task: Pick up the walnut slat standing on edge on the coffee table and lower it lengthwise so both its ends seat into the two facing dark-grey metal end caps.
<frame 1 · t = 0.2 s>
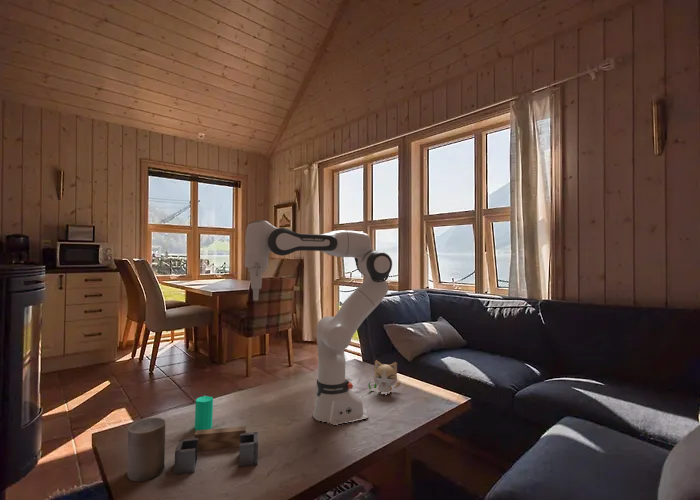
hand: (255, 298, 139), 47 cm above the table, fingers open, 8 cm apart
pillar candle: (145, 472, 106), on the table
candle: (203, 427, 134), on the table
slat: (220, 446, 121), on the table
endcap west: (248, 459, 114), on the table
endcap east: (186, 466, 109), on the table
kitten: (383, 393, 172), on the table
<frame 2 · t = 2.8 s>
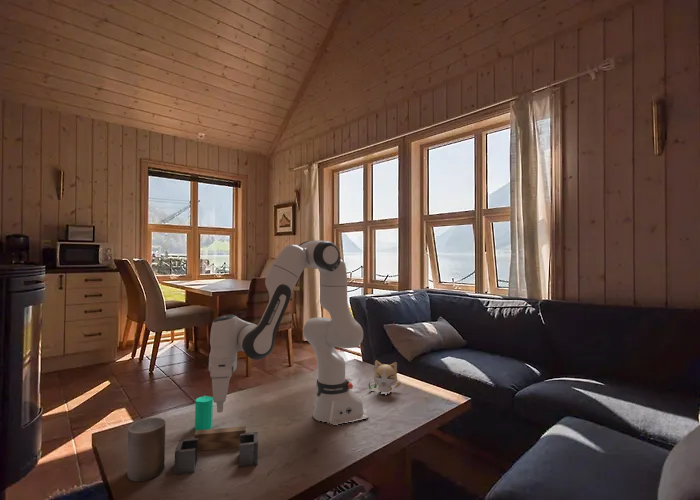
hand: (221, 405, 121), 14 cm above the table, fingers open, 8 cm apart
nothing on the table moved.
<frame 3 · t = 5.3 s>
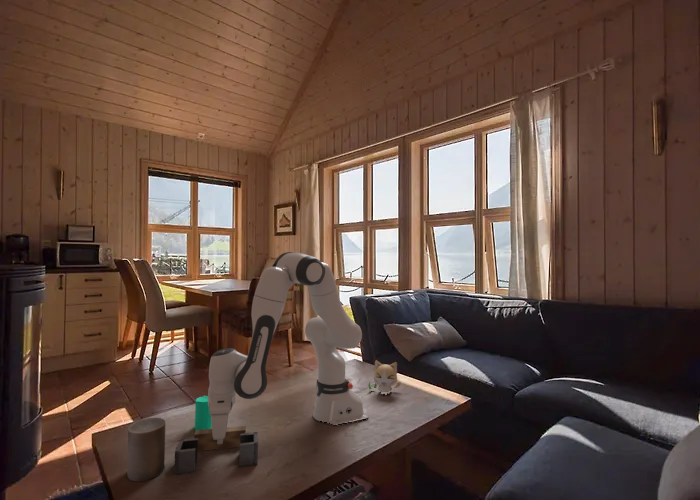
hand: (220, 439, 121), 2 cm above the table, fingers closed on slat, 3 cm apart
slat: (220, 446, 121), on the table, touching gripper
everything else where it was.
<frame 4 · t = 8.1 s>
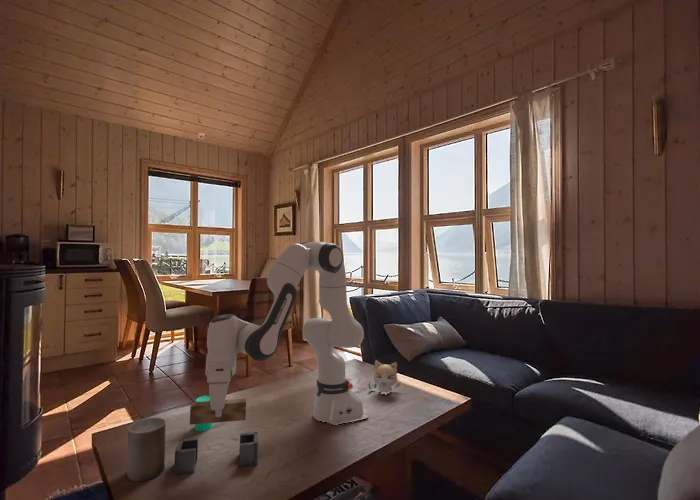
hand: (219, 413, 112), 15 cm above the table, fingers closed on slat, 3 cm apart
slat: (218, 420, 111), point 13 cm above the table, touching gripper
everything else where it was.
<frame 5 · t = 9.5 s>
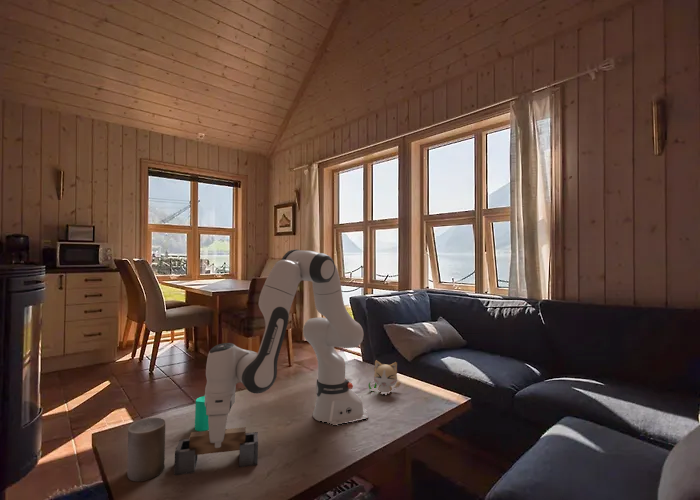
hand: (218, 442, 111), 6 cm above the table, fingers closed on slat, 3 cm apart
slat: (217, 450, 111), point 4 cm above the table, touching gripper
everything else where it was.
when the fingers open (4 cm above the table, at t = 10.7 s): slat stays where it is, resting on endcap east, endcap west.
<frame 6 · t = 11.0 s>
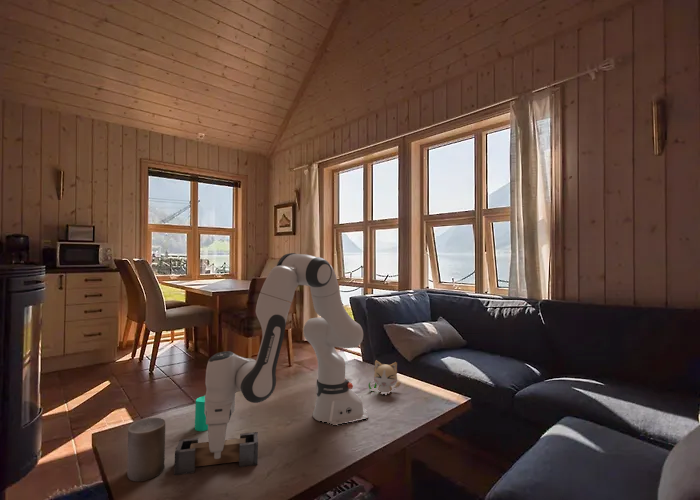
hand: (218, 451, 112), 4 cm above the table, fingers open, 6 cm apart
slat: (217, 461, 112), resting on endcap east, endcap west
everything else where it was.
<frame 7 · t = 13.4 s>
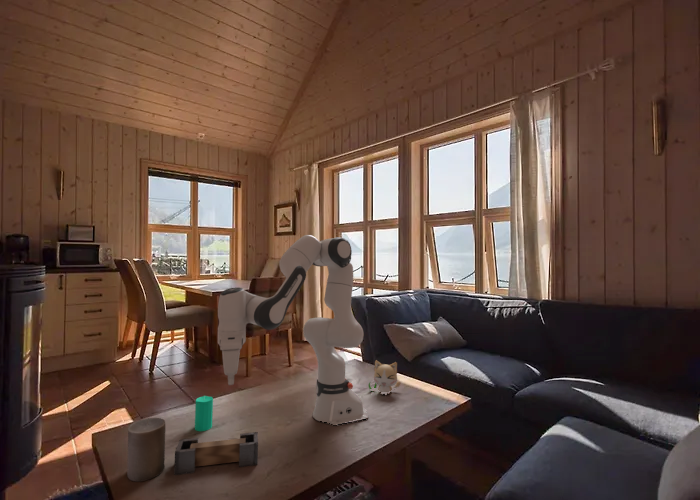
hand: (231, 378, 120), 23 cm above the table, fingers open, 8 cm apart
nothing on the table moved.
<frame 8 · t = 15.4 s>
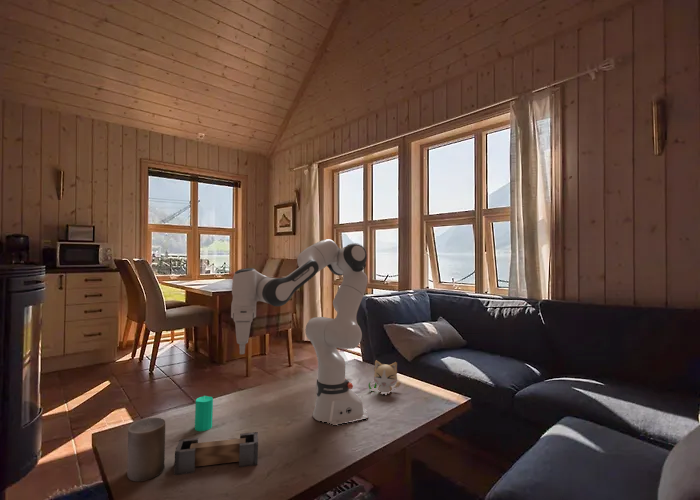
hand: (242, 350, 133), 29 cm above the table, fingers open, 8 cm apart
nothing on the table moved.
at the end: slat 0.1 cm from the target spot, point 0.5 cm above the table; slat tilted 0°; the gripper is holding nothing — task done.
